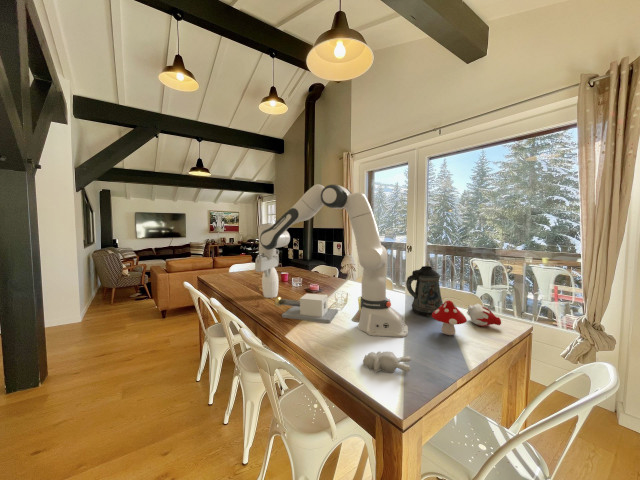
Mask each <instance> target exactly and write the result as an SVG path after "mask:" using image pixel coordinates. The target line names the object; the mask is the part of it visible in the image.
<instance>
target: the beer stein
mask: <svg viewBox="0 0 640 480" xmlns="http://www.w3.org/2000/svg"><path fill="white" fill-rule="evenodd" d="M440 279H441V275H440V273H439V272H437V271H436V270H434V269H433V267H432V266H430V265H429V266H428V265H423V266H421V268H419V269H415V270H412V274H411V275H409V276H407V278H406V282H405V286H406V287H405V288H406V289H407V291H408V293H409V294H410V295H411V296H412V297H413V300H412V304H411V309H412V311H413V313H414V314H416V315H418V316H420V317H421V316H422V317H426V318H433V317H432V313H433V312H434V311H435V310H437V309H438V308H439V307H440V306H441V305H442V304H443V303H444V302H443V298H442V295H441V288H440ZM413 281H416V284H415V290H414V289H413V288H412V283H413Z"/></svg>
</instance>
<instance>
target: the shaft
mask: <svg viewBox="0 0 640 480" xmlns="http://www.w3.org/2000/svg"><path fill="white" fill-rule="evenodd" d="M282 305H283V306H289V307H290V306H291V307H293V306H299V307H300V300H295V299H285V298H283V297H281V296H276V297H275V299H274V306H275V307H278V308H279V307H282Z"/></svg>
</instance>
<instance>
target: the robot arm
mask: <svg viewBox="0 0 640 480" xmlns="http://www.w3.org/2000/svg"><path fill="white" fill-rule="evenodd" d="M324 206H325V207H326V208H330V209H335V210H345V211H346V213H347V215H348V218H349V221H350V225H351V228H352V231H353V232H352V233H353V235H354V238H355V246H356V250H357V251H356V252H357V255H358V261H359V265H360V266H361V267H362V268H363V270H362V276H361V296H360V303H359V305H360V316H359V322H358V325H357V327H358V329H359V330H360V331H362V332H364V333H366V334H367V335H368V336H374V337H375V336H376V337H396V338H398V337H399V338H403V337H406V336H408V334H409V327H408V325H407V324H406V323H404V320H403V317H402V315H401V314H400V313H399V312H398V311H397V310H395V309H394V308H393V307H392V302H391V300H390V298H387V274H388V273H387V272H388V250H387V248H386V247H385V246H384V245H383V244H382V242H381V237H380V233H379V228H378V227H379V226H378V225H377V221H376V218H375V215H374V212H373V209H372V206H371V204H370V202H369V199H368V197H367V195H365V194H364V193H363V192H354V193H352V191H350V189H348V188H346V187H344V186H342V185H339V184H338V185H337V184H328V185H326V186H324V185H323V184H319V183H318V184H317V183H316V184H314V185H313V186H312V187H310V188H309V189H307V191H305V193H303V195H302V196H301V197H300V198H299V200H298V201H297V202H296V203H295V204H294V205H293V206H292V207H291V208H290V209H288V210H287V211H286V212H284V214H282V216H281V217H280V218H279V219H278V220H277V221H276V222H275V223H273V222H272V223H271V222H268V223H263V224H261V225H259V227H258V242H259V244H258V254H257V256H256V258H255V264H254V270H255V272H256V273H257V272H258V273H262V272H264V274H265V277H270V273H271V268H276V267H278V266H279V262H280V257H279V254H280V250H279V249H278V248H282V247H286V246H288V245H289V243H290V241H291V235H290V233H289V231H288V229H289V228H290V227H291V226H293V225H295V224H298V223H300V222H304V221H305V222H306V221H309V220H311V219H312V218H313V217H314V216H316V214H318V212H319V211H320V210H322V208H323V207H324Z"/></svg>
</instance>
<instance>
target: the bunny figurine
mask: <svg viewBox="0 0 640 480" xmlns="http://www.w3.org/2000/svg"><path fill="white" fill-rule="evenodd" d="M362 362H363V363H362V365H363V366H365V367H366V368H367V369H369V370H373V371H374V372H376V373H378V372H379V371H382V372H384V373H387V374H388V373H390V374H391V373H394V372H395V371H396V369H399V370H401V371H403V372H406V373H407V372H410V371H411V367H410V365H409V364H405V363H406V362H411V357H410V356H408V355H407V356H402V357H397V356H396V355H395V353H394V352H393V351H383V352H382V351H377V352H374V351H371V352H369V353H368V354H367V355H366V354H365V356H364V357H363V360H362Z"/></svg>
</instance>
